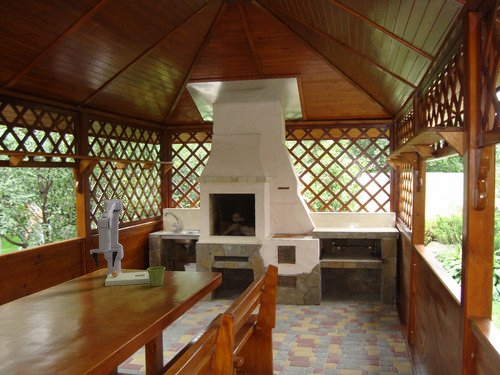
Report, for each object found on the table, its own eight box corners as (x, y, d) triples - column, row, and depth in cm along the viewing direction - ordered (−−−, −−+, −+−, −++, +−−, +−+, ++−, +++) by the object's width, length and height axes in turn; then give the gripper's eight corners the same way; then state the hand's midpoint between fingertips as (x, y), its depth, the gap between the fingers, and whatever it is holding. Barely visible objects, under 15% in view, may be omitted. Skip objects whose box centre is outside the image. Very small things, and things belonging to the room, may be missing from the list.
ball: (112, 276, 226) (112, 270, 226) (118, 276, 227) (118, 269, 227) (111, 277, 223) (111, 271, 223) (118, 277, 223) (117, 271, 223)
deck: (109, 278, 233) (109, 271, 233) (153, 275, 238) (153, 268, 238) (105, 286, 215) (105, 278, 215) (152, 282, 220) (152, 275, 220)
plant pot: (143, 286, 212) (143, 269, 212) (153, 282, 221) (152, 266, 221) (160, 287, 210) (159, 270, 210) (168, 283, 219) (168, 267, 219)
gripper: (88, 242, 211) (89, 269, 211) (118, 241, 214) (119, 267, 214) (91, 240, 218) (91, 266, 218) (119, 239, 221) (120, 264, 221)
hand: (105, 266), depth 217 cm, fingers open, 7 cm apart
